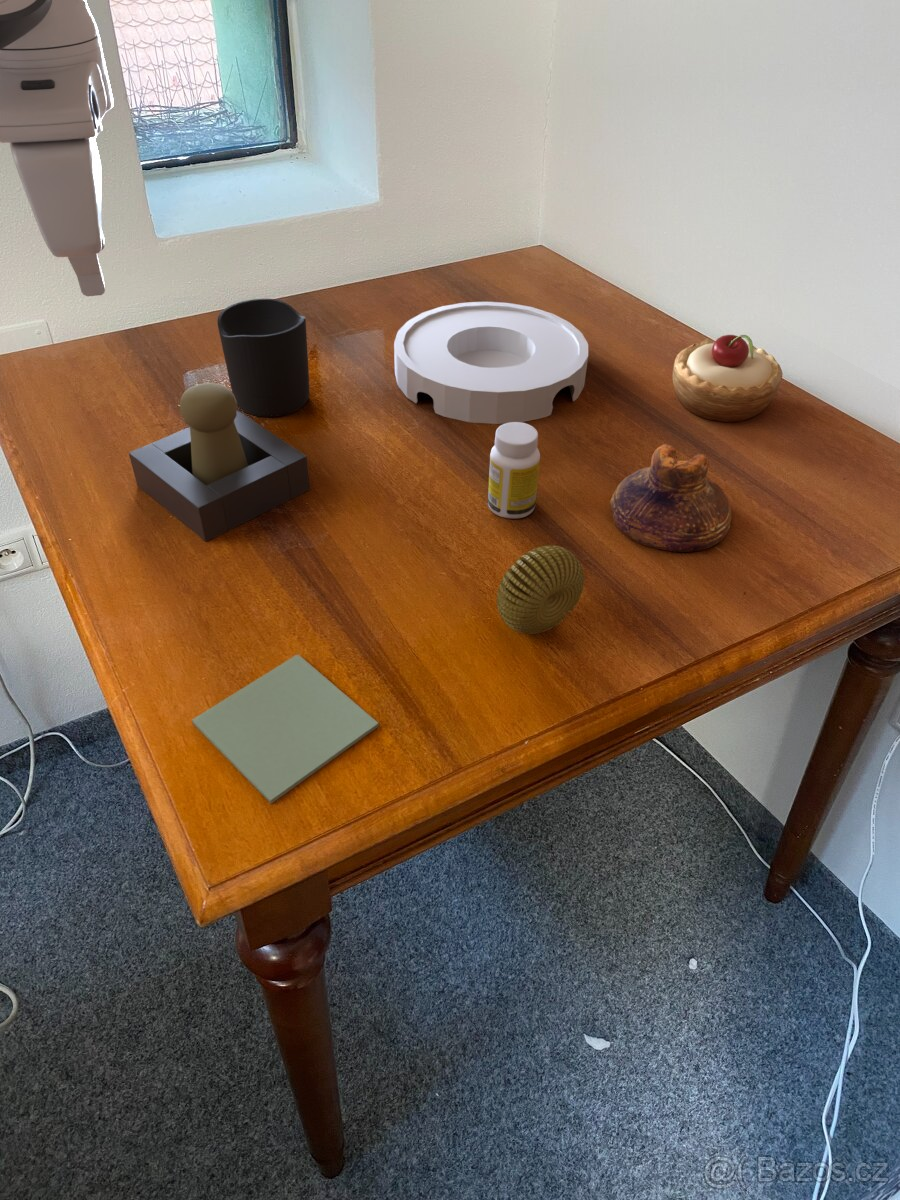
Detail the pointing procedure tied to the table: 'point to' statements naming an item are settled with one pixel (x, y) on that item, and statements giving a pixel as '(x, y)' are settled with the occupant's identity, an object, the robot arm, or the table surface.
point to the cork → (212, 431)
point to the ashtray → (490, 361)
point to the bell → (672, 504)
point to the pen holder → (265, 356)
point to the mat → (284, 726)
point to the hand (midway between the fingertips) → (94, 269)
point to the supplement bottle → (514, 470)
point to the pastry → (726, 378)
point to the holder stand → (230, 499)
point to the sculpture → (540, 589)
